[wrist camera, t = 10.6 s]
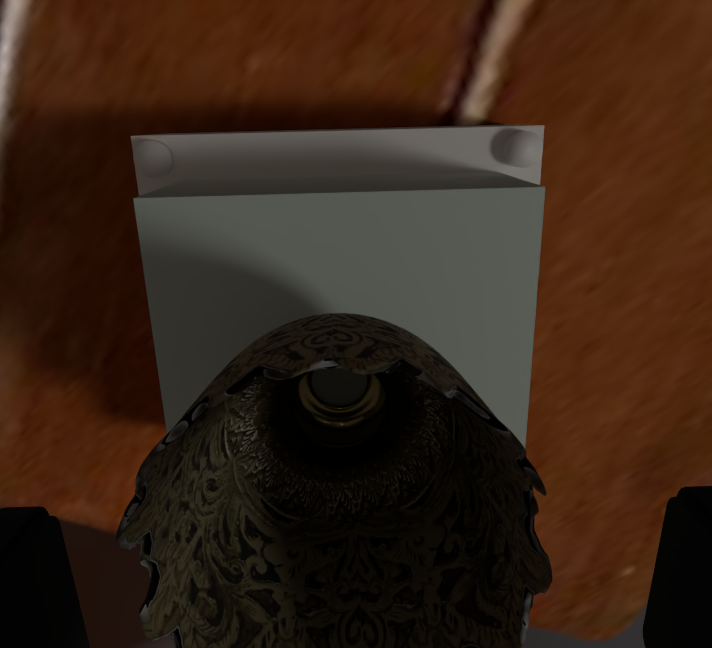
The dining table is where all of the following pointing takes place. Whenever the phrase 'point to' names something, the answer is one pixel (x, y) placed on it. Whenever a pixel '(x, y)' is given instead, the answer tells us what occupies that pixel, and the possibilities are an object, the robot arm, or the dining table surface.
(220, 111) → the dining table surface
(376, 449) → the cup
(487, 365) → the grey stacking block
